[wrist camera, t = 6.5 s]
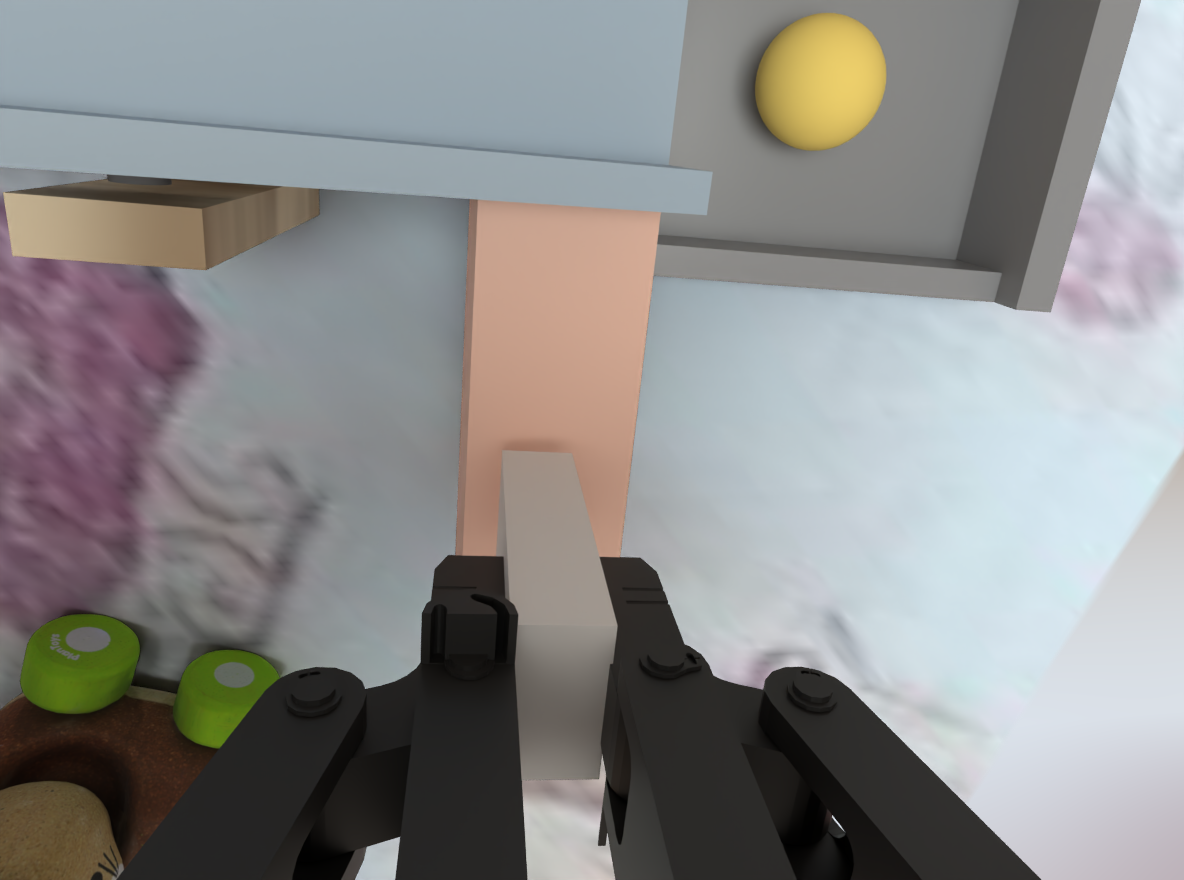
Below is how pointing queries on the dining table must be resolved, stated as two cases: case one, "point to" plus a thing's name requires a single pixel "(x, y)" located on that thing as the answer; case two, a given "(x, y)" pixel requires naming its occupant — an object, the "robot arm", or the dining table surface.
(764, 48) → the tray
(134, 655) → the toy car
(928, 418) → the dining table surface
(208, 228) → the fulcrum
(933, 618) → the dining table surface
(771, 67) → the ball
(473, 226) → the lever
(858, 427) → the dining table surface
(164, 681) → the dining table surface
